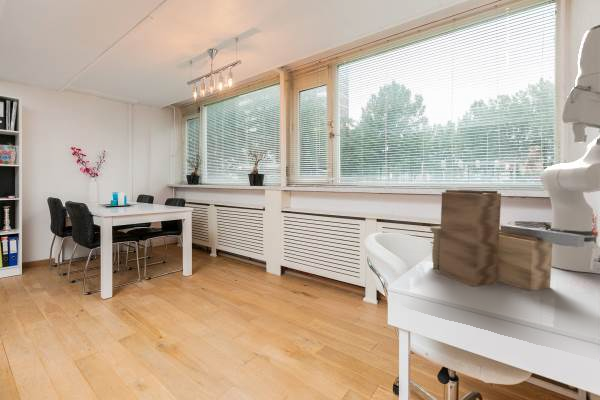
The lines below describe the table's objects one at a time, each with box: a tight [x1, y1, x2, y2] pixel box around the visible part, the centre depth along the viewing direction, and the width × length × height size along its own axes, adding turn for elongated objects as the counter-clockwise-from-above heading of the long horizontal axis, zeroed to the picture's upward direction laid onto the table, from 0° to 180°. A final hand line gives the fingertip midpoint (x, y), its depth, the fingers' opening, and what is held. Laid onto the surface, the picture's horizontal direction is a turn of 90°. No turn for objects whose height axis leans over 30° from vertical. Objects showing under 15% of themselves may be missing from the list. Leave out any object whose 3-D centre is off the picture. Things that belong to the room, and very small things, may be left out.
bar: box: [500, 224, 585, 247], centre depth 85 cm, size 3×20×3 cm, turn 21°
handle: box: [430, 225, 441, 270], centre depth 105 cm, size 5×6×15 cm
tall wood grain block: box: [438, 189, 502, 288], centre depth 94 cm, size 10×13×29 cm
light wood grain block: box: [497, 228, 553, 292], centre depth 92 cm, size 9×15×15 cm, turn 20°
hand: (591, 143), depth 75 cm, fingers open, 8 cm apart
